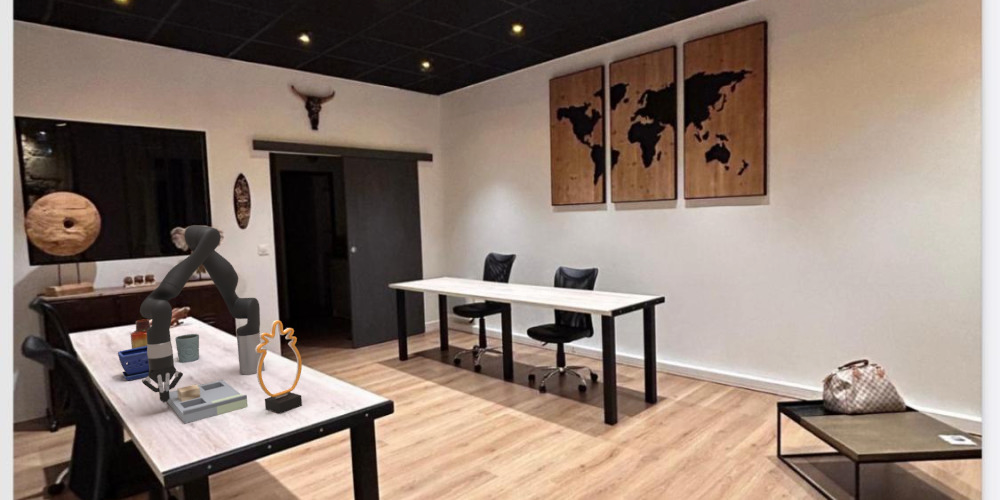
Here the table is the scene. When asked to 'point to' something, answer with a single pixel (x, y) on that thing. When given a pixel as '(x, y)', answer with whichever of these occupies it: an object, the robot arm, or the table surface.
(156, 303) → the robot arm
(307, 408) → the table surface
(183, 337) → the teal cup
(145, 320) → the vase
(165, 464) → the table surface
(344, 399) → the table surface
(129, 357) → the flower pot
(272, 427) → the table surface
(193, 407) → the board
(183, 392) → the beech block
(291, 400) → the lamp
